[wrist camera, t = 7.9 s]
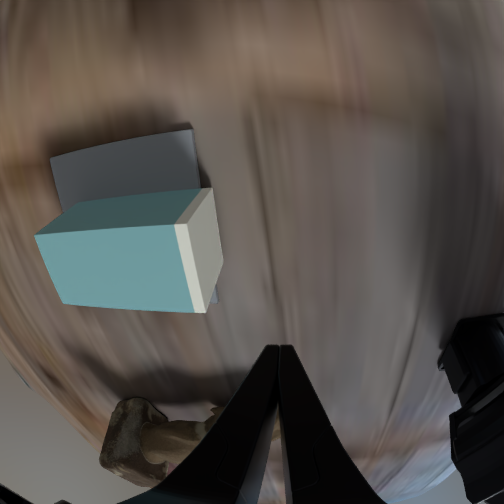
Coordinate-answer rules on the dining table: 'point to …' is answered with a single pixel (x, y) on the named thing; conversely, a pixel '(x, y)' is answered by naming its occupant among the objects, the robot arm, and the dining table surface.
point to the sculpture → (152, 441)
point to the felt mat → (128, 170)
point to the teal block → (136, 251)
